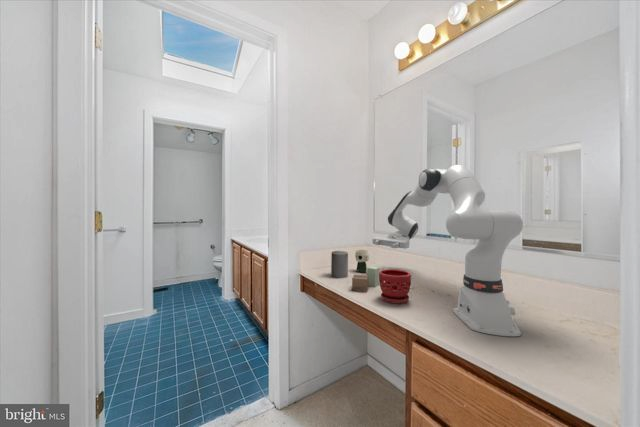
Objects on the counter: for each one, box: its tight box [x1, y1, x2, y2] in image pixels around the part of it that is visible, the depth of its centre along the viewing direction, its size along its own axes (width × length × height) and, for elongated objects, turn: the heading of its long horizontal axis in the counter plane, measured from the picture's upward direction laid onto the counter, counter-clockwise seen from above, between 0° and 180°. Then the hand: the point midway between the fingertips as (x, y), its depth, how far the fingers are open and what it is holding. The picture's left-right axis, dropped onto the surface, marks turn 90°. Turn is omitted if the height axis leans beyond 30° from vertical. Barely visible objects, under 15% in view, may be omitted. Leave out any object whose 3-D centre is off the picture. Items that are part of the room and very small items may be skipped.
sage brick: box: [366, 265, 381, 288], centre depth 128 cm, size 4×4×9 cm
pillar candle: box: [330, 249, 349, 279], centre depth 145 cm, size 10×10×15 cm
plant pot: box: [379, 269, 412, 304], centre depth 108 cm, size 13×13×12 cm
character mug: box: [354, 249, 369, 273], centre depth 155 cm, size 11×7×13 cm, turn 35°
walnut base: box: [351, 274, 370, 293], centre depth 122 cm, size 7×7×6 cm
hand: (384, 244), depth 137 cm, fingers open, 8 cm apart
